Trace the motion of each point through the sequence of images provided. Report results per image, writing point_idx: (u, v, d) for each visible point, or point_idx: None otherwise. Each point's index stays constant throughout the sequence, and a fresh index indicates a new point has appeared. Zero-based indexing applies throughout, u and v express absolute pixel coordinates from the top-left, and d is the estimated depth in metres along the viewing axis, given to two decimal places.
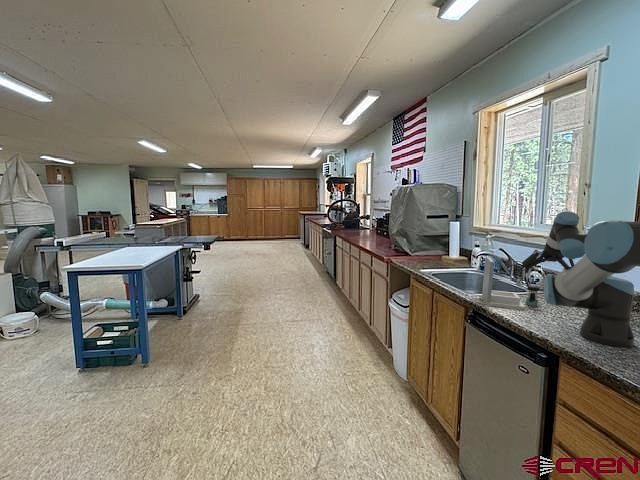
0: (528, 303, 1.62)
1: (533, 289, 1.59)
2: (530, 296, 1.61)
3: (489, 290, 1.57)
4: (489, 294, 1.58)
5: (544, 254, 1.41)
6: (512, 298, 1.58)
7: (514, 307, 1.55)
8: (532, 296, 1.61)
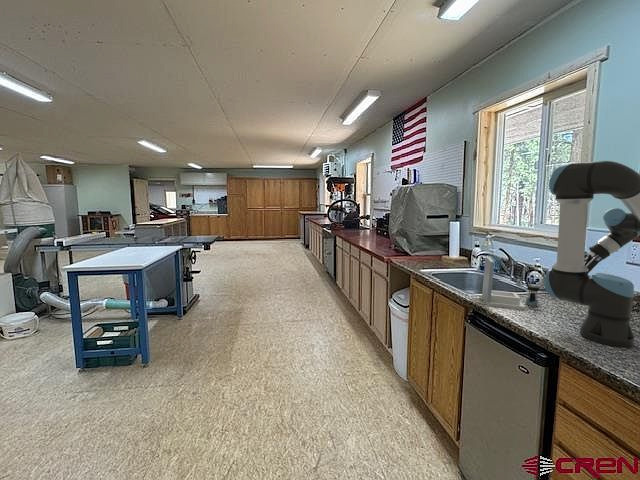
0: (528, 303, 1.62)
1: (533, 289, 1.59)
2: (530, 296, 1.61)
3: (489, 290, 1.57)
4: (489, 294, 1.58)
5: (587, 253, 1.55)
6: (512, 298, 1.58)
7: (514, 307, 1.55)
8: (532, 296, 1.61)
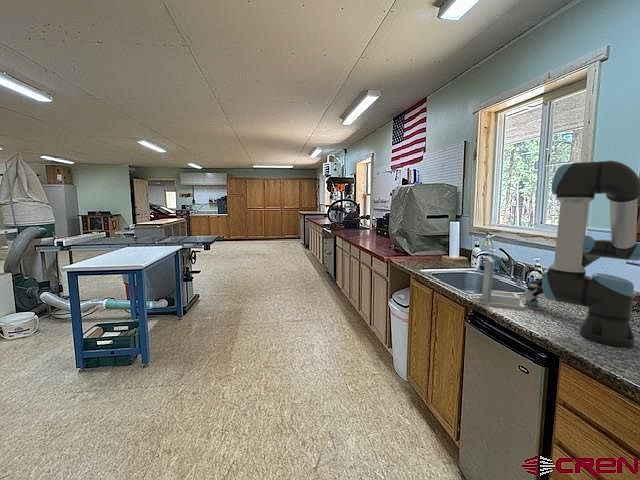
0: (528, 303, 1.62)
1: (533, 289, 1.59)
2: None
3: (489, 290, 1.57)
4: (489, 294, 1.58)
5: None
6: (512, 298, 1.58)
7: (514, 307, 1.55)
8: None
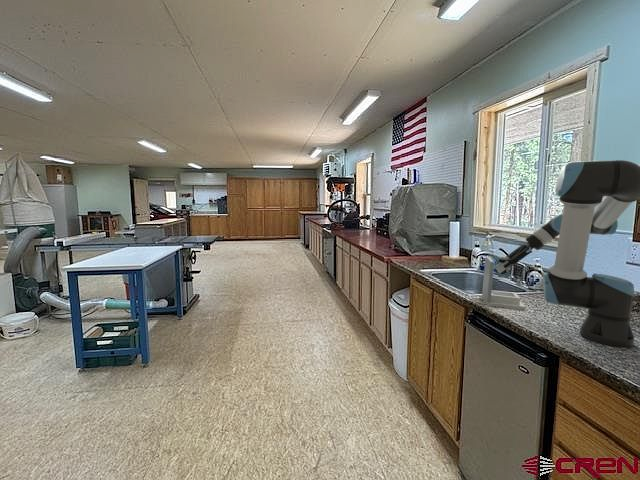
0: (500, 275, 1.63)
1: (504, 261, 1.60)
2: None
3: (489, 290, 1.57)
4: (489, 294, 1.58)
5: None
6: (512, 298, 1.58)
7: (514, 307, 1.55)
8: None
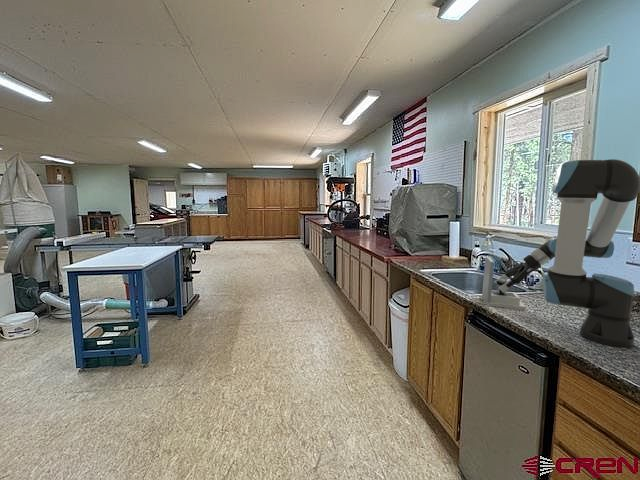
0: None
1: (502, 284, 1.61)
2: (499, 291, 1.64)
3: (489, 290, 1.57)
4: (489, 294, 1.58)
5: (522, 264, 1.63)
6: (512, 298, 1.58)
7: (514, 307, 1.55)
8: (501, 291, 1.63)
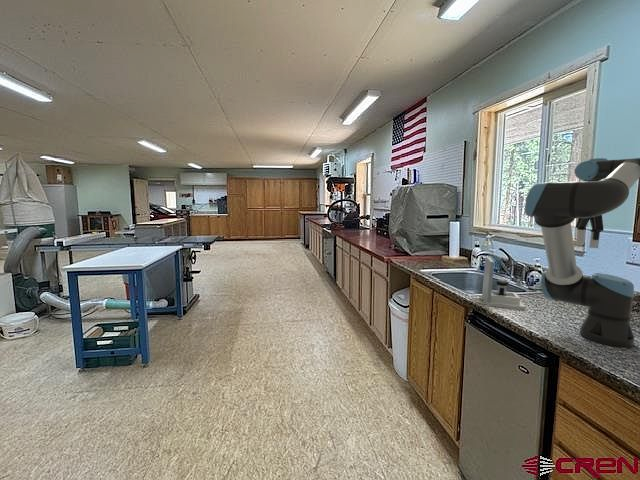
0: None
1: (502, 284, 1.61)
2: (499, 291, 1.64)
3: (489, 290, 1.57)
4: (489, 294, 1.58)
5: None
6: (512, 298, 1.58)
7: (514, 307, 1.55)
8: (501, 291, 1.63)
